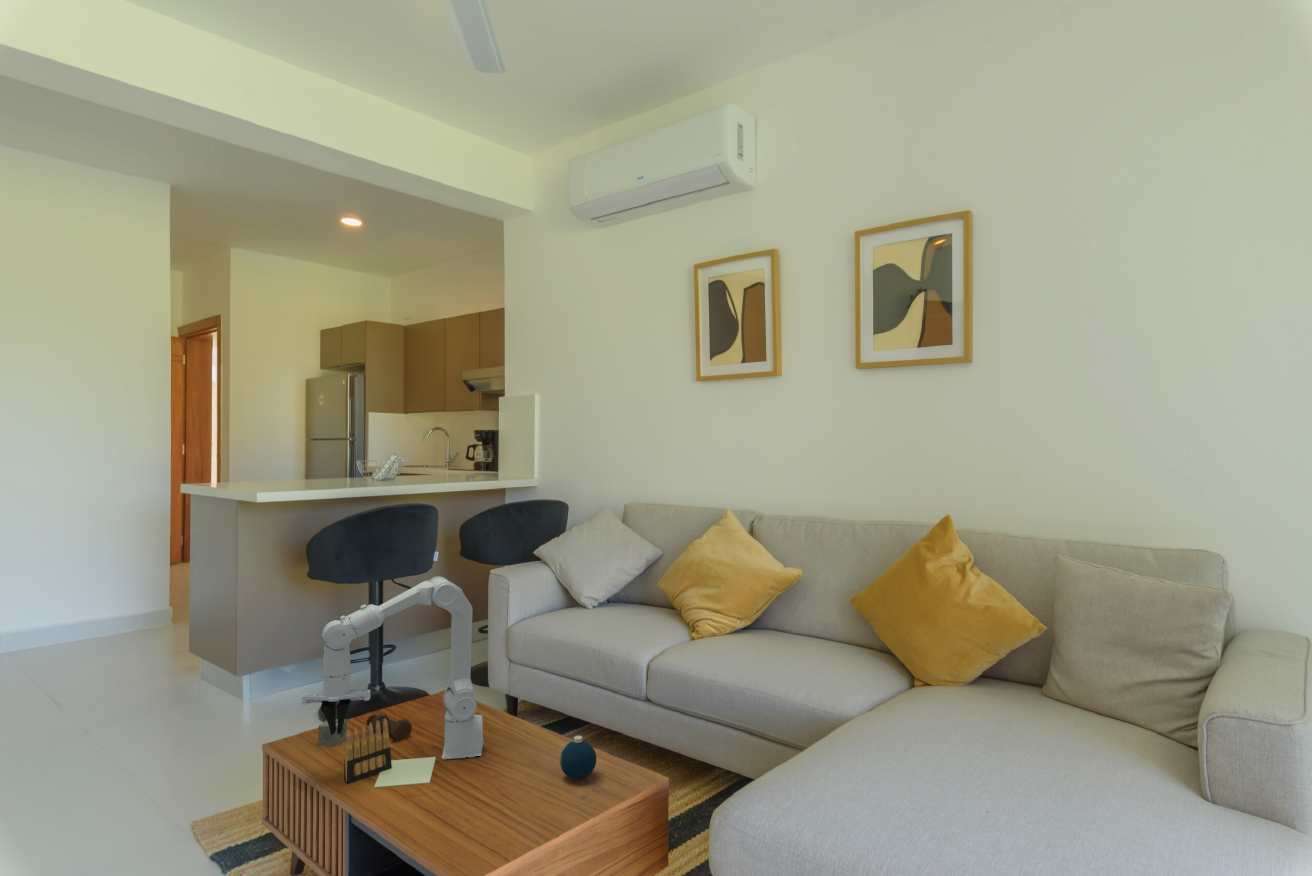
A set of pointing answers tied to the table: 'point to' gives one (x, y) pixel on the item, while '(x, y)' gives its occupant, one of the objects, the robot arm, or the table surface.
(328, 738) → the dice cube
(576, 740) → the christmas ornament
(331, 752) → the table surface
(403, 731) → the bolt
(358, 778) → the ammunition clip
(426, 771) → the mat
